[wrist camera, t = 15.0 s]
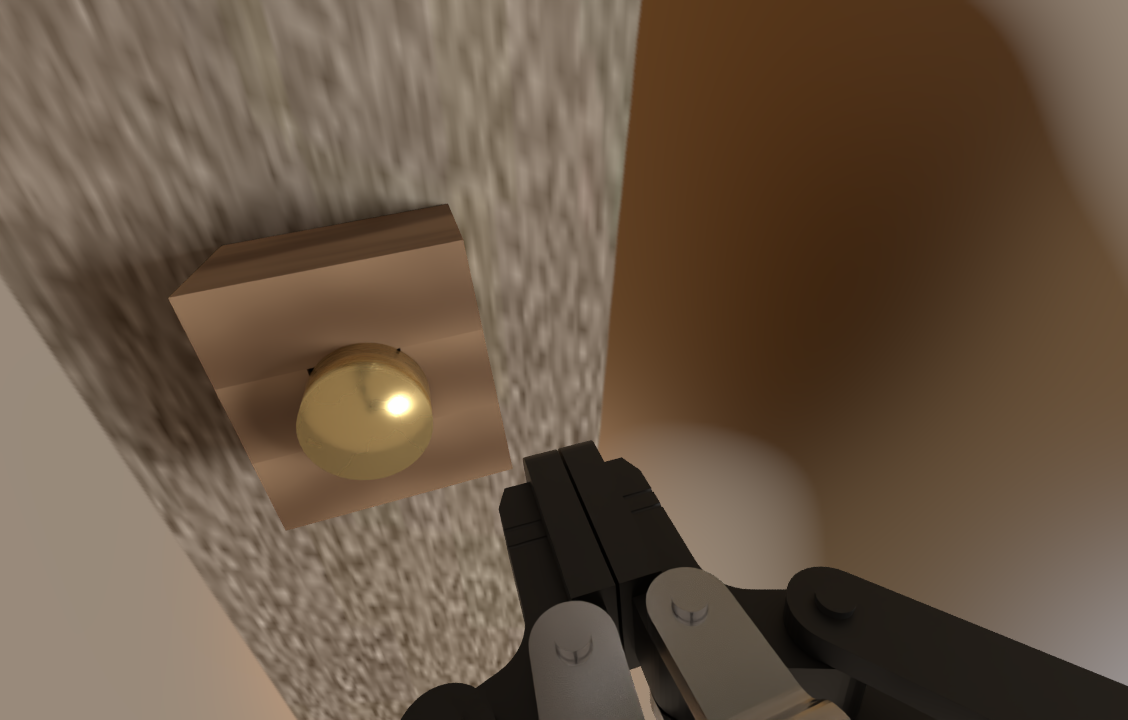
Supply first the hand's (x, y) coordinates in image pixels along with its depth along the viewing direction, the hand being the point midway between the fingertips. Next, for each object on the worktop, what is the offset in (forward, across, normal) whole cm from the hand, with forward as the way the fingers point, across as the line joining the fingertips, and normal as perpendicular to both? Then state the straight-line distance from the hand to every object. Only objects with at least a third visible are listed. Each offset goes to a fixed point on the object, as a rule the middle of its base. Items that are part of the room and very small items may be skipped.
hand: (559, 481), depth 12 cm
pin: (+22, +6, +6) cm, 24 cm away
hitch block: (+23, +6, +6) cm, 25 cm away
